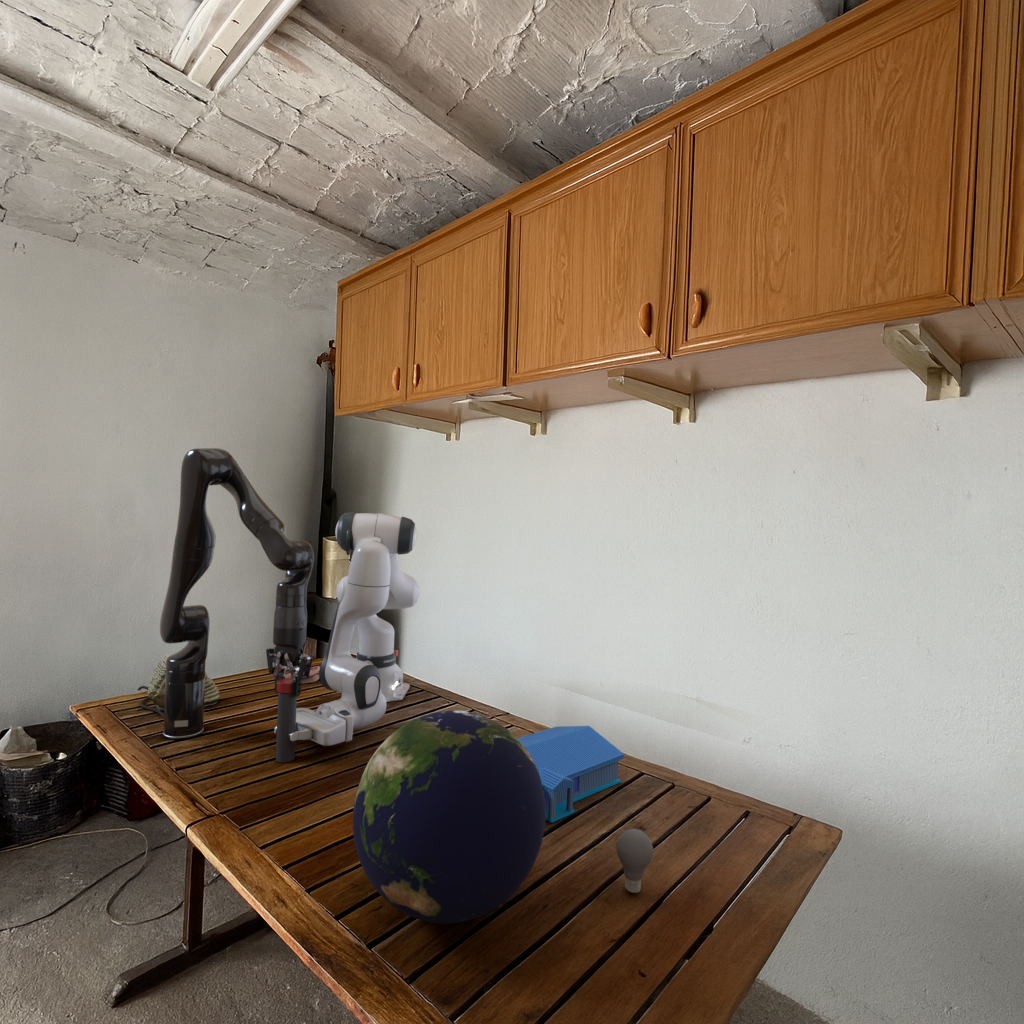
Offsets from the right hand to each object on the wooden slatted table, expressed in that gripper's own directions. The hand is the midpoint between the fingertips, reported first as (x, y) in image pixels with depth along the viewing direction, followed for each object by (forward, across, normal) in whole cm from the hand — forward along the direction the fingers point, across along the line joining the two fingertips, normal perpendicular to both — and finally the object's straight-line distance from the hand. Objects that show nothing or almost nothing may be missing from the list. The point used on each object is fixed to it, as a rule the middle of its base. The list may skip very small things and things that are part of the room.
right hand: (282, 734), depth 151 cm
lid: (-1, 0, -12) cm, 12 cm away
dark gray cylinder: (-1, 0, +6) cm, 6 cm away
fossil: (-2, -53, +6) cm, 54 cm away
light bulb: (-9, +87, +6) cm, 88 cm away
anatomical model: (-40, -53, +6) cm, 67 cm away
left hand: (-1, 0, -9) cm, 9 cm away
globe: (+14, +66, +6) cm, 68 cm away
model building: (-28, +54, +6) cm, 61 cm away
